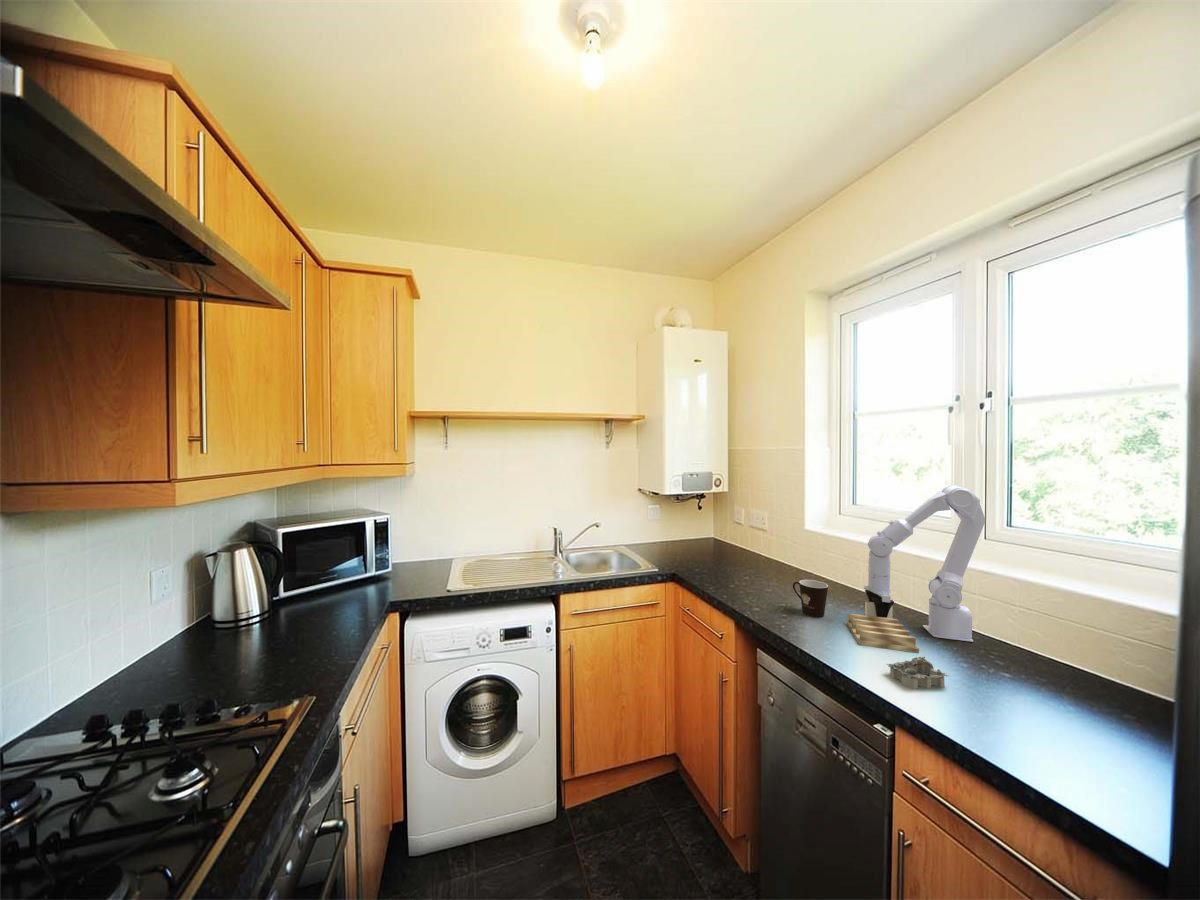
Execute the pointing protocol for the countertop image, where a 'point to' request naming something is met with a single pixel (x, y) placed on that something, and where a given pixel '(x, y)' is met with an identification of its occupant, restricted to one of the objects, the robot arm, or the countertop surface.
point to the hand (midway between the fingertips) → (878, 617)
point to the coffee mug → (812, 597)
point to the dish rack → (881, 633)
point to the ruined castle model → (909, 670)
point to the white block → (872, 612)
